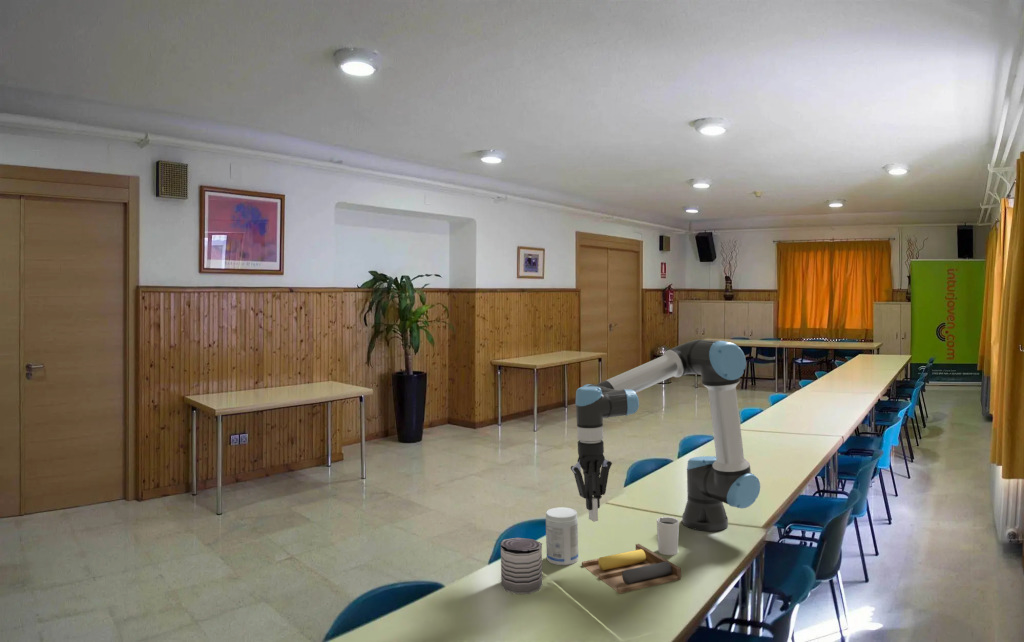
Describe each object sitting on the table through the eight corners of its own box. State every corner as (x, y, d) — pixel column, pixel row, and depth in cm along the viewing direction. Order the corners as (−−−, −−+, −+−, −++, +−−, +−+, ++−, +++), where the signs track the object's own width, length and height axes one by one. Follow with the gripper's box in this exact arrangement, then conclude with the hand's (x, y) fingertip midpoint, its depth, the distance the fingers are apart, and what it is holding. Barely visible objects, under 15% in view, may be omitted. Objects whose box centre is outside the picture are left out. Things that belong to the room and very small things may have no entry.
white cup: (679, 557, 196) (679, 524, 195) (657, 556, 197) (656, 523, 197) (678, 549, 202) (678, 517, 202) (656, 547, 204) (656, 516, 203)
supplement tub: (570, 552, 201) (569, 505, 201) (583, 563, 192) (583, 514, 192) (541, 556, 198) (540, 509, 197) (553, 569, 189) (553, 519, 188)
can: (492, 583, 180) (492, 541, 179) (525, 572, 187) (524, 531, 186) (518, 598, 171) (517, 553, 170) (551, 586, 178) (550, 543, 177)
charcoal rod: (663, 571, 185) (663, 559, 185) (671, 576, 181) (671, 564, 181) (622, 581, 179) (622, 568, 179) (629, 586, 176) (629, 573, 176)
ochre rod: (642, 564, 192) (637, 552, 195) (647, 558, 190) (642, 547, 192) (601, 572, 187) (597, 560, 189) (606, 567, 184) (601, 555, 187)
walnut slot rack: (638, 554, 198) (638, 543, 198) (680, 580, 180) (680, 568, 180) (581, 566, 190) (581, 555, 190) (619, 594, 172) (619, 582, 172)
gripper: (602, 434, 195) (605, 512, 196) (564, 440, 190) (567, 520, 191) (616, 439, 188) (619, 519, 189) (577, 445, 183) (580, 528, 184)
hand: (593, 519), depth 190 cm, fingers closed
